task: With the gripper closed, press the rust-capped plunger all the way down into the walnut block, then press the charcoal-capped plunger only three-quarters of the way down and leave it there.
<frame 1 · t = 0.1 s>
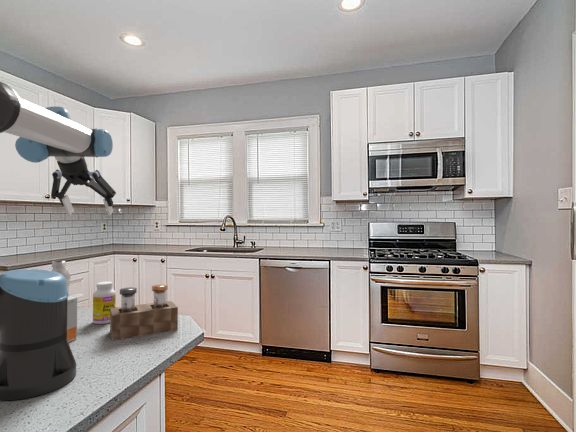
hand: (91, 213, 120), 36 cm above the worktop, tool tilted 35°, fingers open, 13 cm apart
rust plunger: (159, 299, 108), point 9 cm above the worktop, slide at 0.0 cm
supplement bottle: (104, 322, 114), on the worktop
plastic bottle: (58, 322, 113), on the worktop
walnut block: (144, 330, 106), on the worktop
skincare box: (62, 343, 96), on the worktop
charcoal plunger: (128, 303, 103), point 9 cm above the worktop, slide at 0.0 cm
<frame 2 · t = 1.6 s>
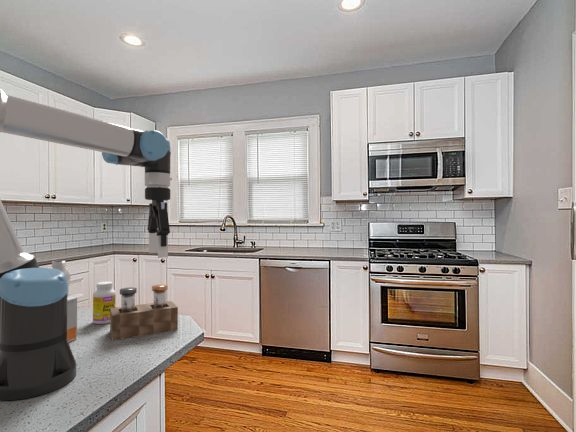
hand: (157, 255, 108), 23 cm above the worktop, tool pointing down, fingers open, 13 cm apart
nothing on the worktop moved.
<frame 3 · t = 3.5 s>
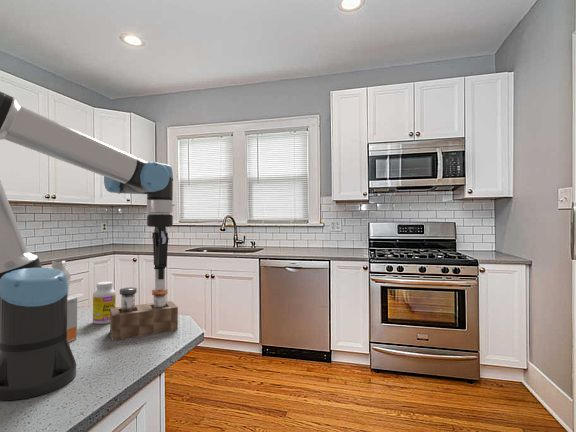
hand: (160, 289, 108), 12 cm above the worktop, tool pointing down, fingers closed
rust plunger: (159, 303, 108), point 8 cm above the worktop, slide at 1.3 cm, touching gripper
everything else where it was.
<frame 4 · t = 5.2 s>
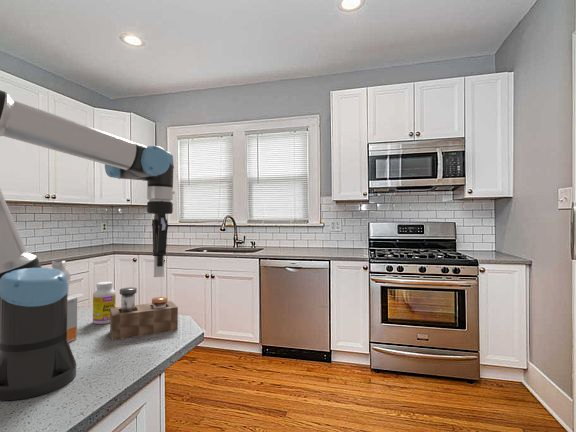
hand: (158, 276, 108), 16 cm above the worktop, tool pointing down, fingers closed
rust plunger: (159, 312, 108), point 5 cm above the worktop, slide at 4.0 cm
everything else where it was.
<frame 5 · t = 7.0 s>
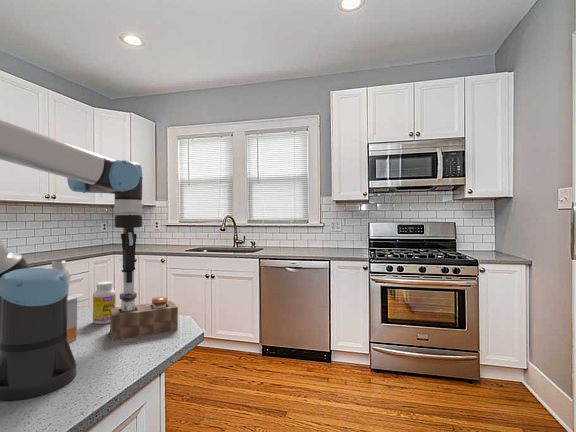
hand: (128, 292, 103), 12 cm above the worktop, tool pointing down, fingers closed
charcoal plunger: (128, 308, 103), point 7 cm above the worktop, slide at 1.4 cm, touching gripper
everything else where it was.
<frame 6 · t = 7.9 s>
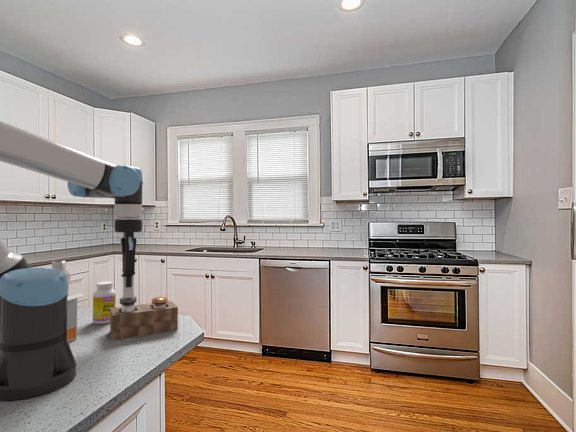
hand: (128, 297, 103), 11 cm above the worktop, tool pointing down, fingers closed
charcoal plunger: (128, 312, 103), point 6 cm above the worktop, slide at 2.8 cm, touching gripper
everything else where it was.
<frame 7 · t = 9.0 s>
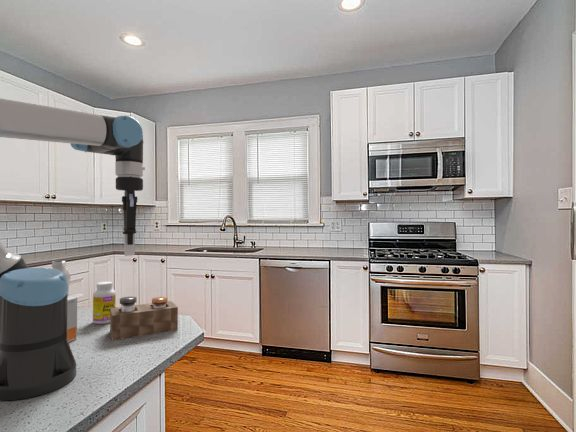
hand: (129, 255, 104), 23 cm above the worktop, tool pointing down, fingers closed
charcoal plunger: (128, 312, 103), point 6 cm above the worktop, slide at 2.8 cm
everything else where it was.
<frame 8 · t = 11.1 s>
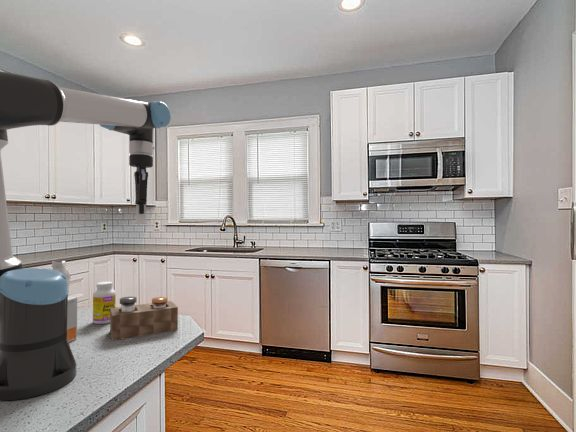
hand: (140, 223, 119), 32 cm above the worktop, tool pointing down, fingers closed
nothing on the worktop moved.
at the end: rust plunger slide at 4.0 cm; charcoal plunger slide at 2.8 cm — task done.
